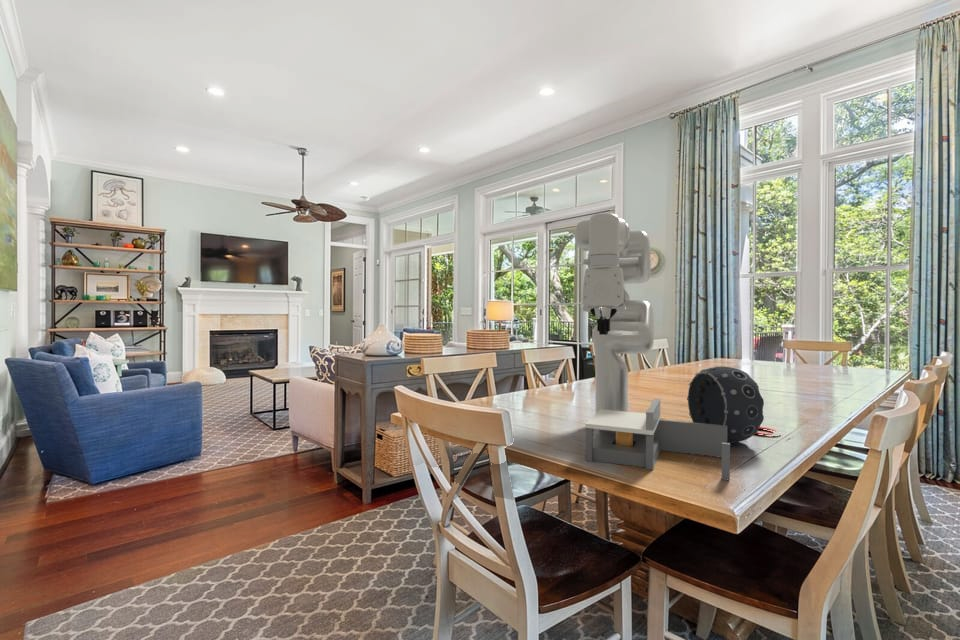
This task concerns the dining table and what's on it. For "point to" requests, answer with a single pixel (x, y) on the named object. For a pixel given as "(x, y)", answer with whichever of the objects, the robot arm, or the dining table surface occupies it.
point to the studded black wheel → (726, 401)
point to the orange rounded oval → (624, 438)
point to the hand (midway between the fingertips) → (603, 334)
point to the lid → (627, 420)
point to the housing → (661, 444)
